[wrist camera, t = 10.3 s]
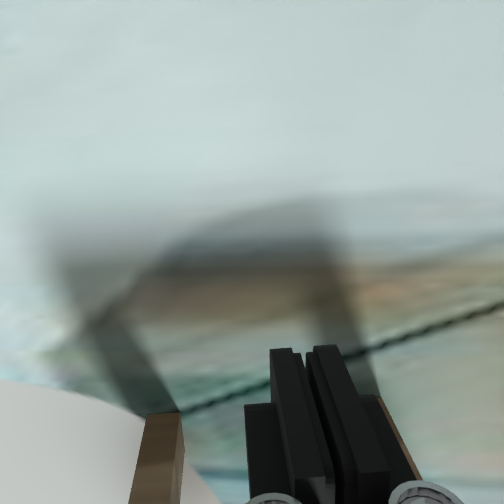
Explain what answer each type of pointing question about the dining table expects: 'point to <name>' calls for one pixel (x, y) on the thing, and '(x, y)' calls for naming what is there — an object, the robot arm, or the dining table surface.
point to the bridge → (182, 459)
